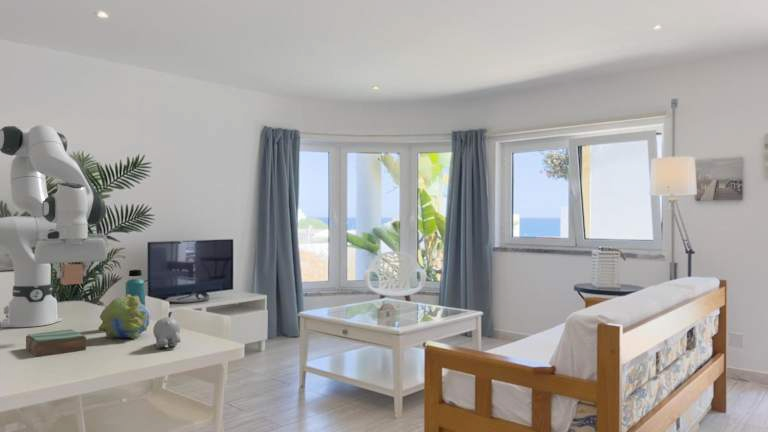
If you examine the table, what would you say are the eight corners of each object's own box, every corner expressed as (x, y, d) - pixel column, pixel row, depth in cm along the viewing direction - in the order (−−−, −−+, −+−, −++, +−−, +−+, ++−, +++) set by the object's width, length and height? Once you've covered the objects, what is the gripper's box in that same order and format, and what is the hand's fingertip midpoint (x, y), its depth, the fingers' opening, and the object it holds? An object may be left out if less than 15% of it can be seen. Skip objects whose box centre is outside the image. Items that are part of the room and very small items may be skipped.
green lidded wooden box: (25, 348, 157) (26, 334, 157) (72, 342, 166) (72, 328, 166) (37, 356, 147) (37, 341, 147) (85, 349, 156) (85, 335, 156)
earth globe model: (146, 285, 181) (96, 290, 172) (155, 305, 168) (101, 312, 160) (146, 323, 184) (96, 330, 176) (154, 346, 171) (101, 354, 163)
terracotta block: (60, 283, 173) (60, 264, 174) (78, 282, 177) (78, 264, 177) (65, 284, 170) (65, 265, 170) (82, 283, 173) (82, 264, 173)
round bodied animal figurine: (174, 351, 165) (172, 323, 168) (183, 342, 156) (181, 313, 159) (148, 353, 161) (147, 325, 164) (157, 345, 152) (155, 315, 155)
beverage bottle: (140, 328, 188) (140, 270, 188) (121, 328, 188) (121, 270, 188) (148, 324, 194) (149, 268, 195) (130, 324, 194) (130, 268, 195)
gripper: (103, 233, 183) (103, 274, 183) (33, 233, 169) (32, 278, 169) (110, 233, 179) (109, 275, 178) (37, 234, 164) (37, 279, 164)
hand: (71, 276), depth 173 cm, fingers closed on terracotta block, 5 cm apart
